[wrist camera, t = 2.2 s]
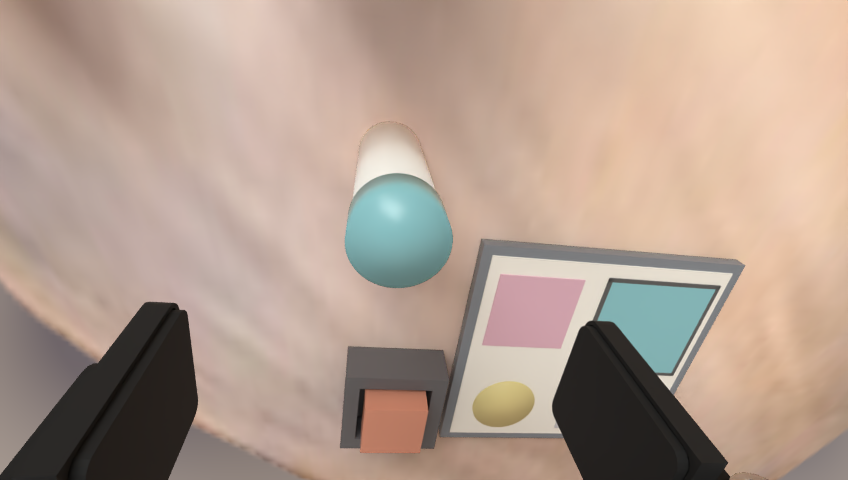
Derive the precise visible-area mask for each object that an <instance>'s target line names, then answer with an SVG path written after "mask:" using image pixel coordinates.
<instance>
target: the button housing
mask: <svg viewBox="0 0 848 480" xmlns="http://www.w3.org/2000/svg"><path fill="white" fill-rule="evenodd" d="M448 384H449V377H448V372H447V367H446V362H445V357H444V352H443V350H421V349H397V348H372V347H348V355H347V367H346V380H345V392H344V405H343V417H342V430H341V443H340V448H360V442H361V420H362V411H363V402H364V393H365V389H384V390H423V391H426V397H427V405H428V415H427V420H426V425H425V430H424V435H423V440H422V445H421V449H434V446H435V441H436V437H437V432H438V428H439V424H440V419H441V415H442V410H443V406H444V401H445V397H446V393H447V388H448Z"/></svg>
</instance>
